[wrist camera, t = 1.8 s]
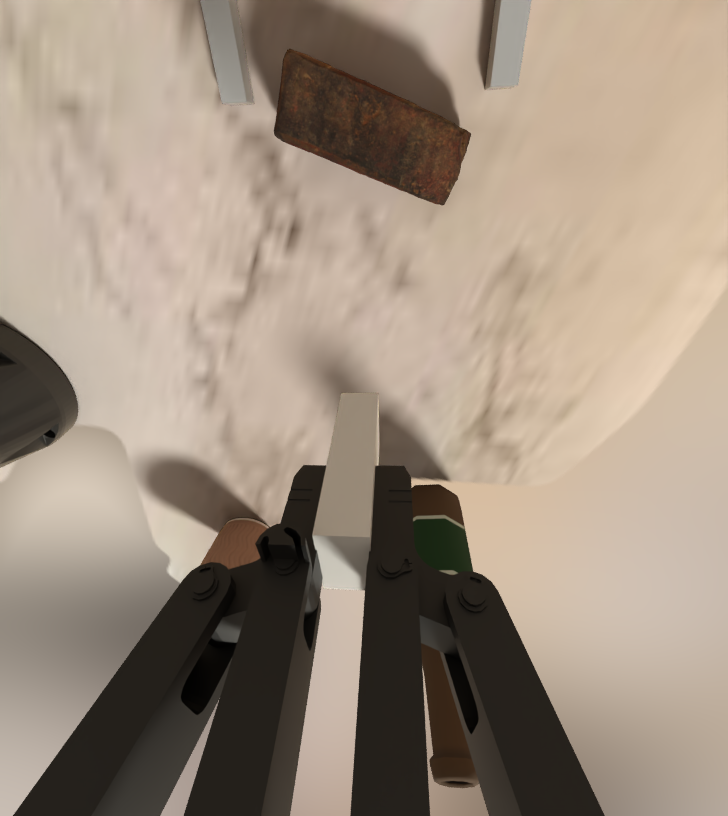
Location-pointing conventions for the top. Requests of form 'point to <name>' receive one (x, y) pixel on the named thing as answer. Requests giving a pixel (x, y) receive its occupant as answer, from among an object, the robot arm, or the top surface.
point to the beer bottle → (449, 553)
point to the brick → (368, 129)
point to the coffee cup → (236, 543)
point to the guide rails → (234, 66)
